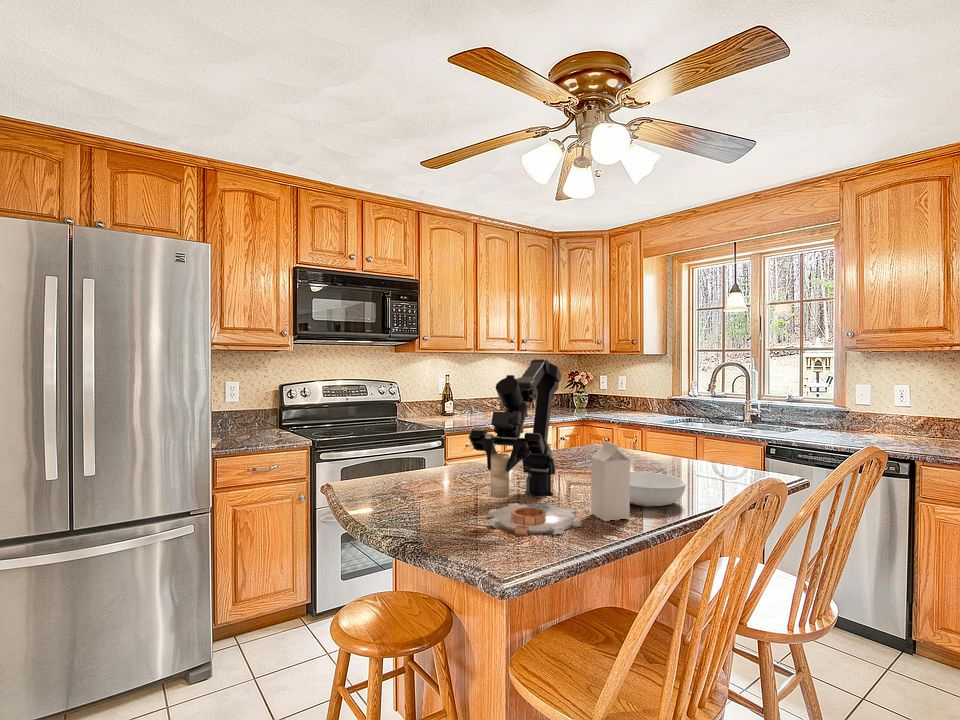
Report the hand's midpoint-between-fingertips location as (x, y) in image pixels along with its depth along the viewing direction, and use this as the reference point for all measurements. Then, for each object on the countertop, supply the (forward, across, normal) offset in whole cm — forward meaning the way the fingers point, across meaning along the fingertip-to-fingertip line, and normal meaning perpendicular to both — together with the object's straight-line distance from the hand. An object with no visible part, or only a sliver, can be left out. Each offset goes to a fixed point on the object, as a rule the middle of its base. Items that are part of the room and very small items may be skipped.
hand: (498, 470), depth 132 cm
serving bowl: (-16, +31, +36) cm, 50 cm away
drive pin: (+4, 0, +6) cm, 7 cm away
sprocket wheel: (+4, +7, +14) cm, 17 cm away
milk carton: (-3, +24, +22) cm, 33 cm away
